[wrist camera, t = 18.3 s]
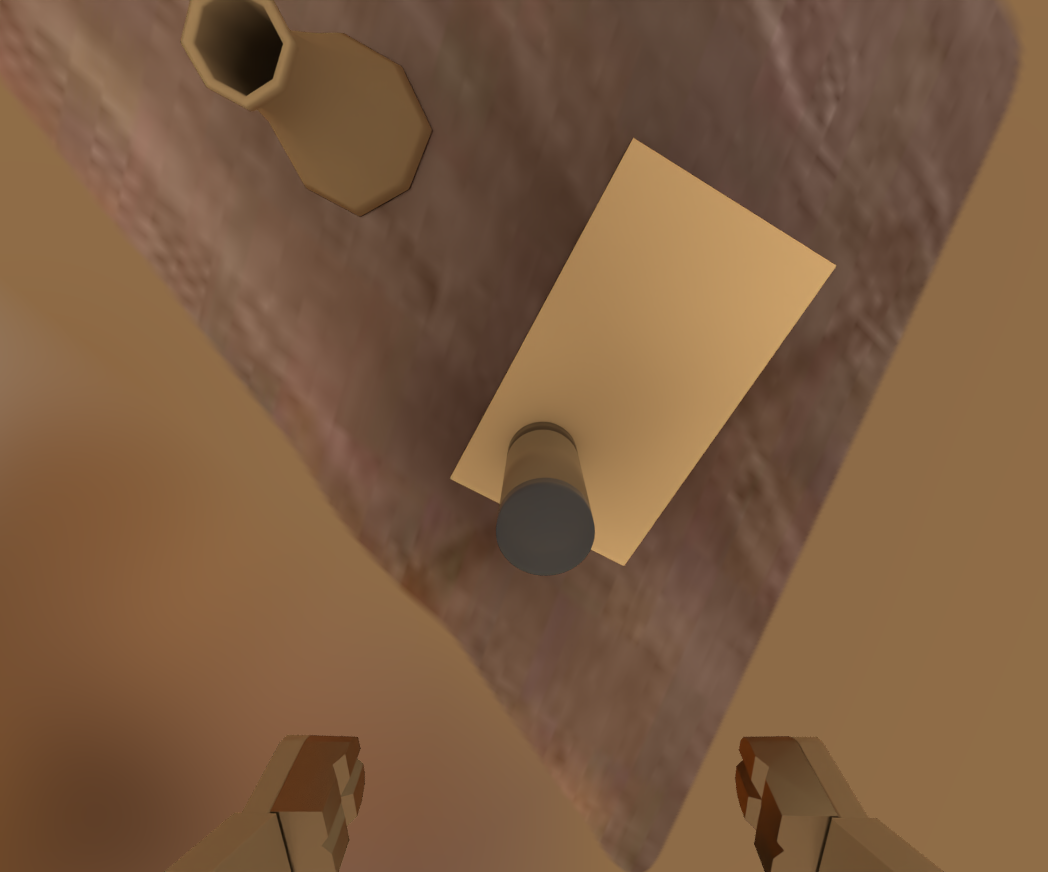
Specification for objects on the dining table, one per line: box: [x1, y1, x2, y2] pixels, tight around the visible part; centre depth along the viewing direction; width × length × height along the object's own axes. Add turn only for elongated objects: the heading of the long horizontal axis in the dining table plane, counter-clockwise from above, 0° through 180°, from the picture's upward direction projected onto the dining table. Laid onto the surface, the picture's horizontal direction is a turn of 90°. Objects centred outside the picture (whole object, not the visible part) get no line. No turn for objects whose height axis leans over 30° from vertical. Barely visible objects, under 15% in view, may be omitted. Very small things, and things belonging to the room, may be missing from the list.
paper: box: [450, 138, 836, 566], centre depth 27 cm, size 20×12×1 cm, turn 151°
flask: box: [180, 0, 432, 217], centre depth 19 cm, size 7×7×10 cm
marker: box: [496, 422, 595, 576], centre depth 24 cm, size 4×4×9 cm
